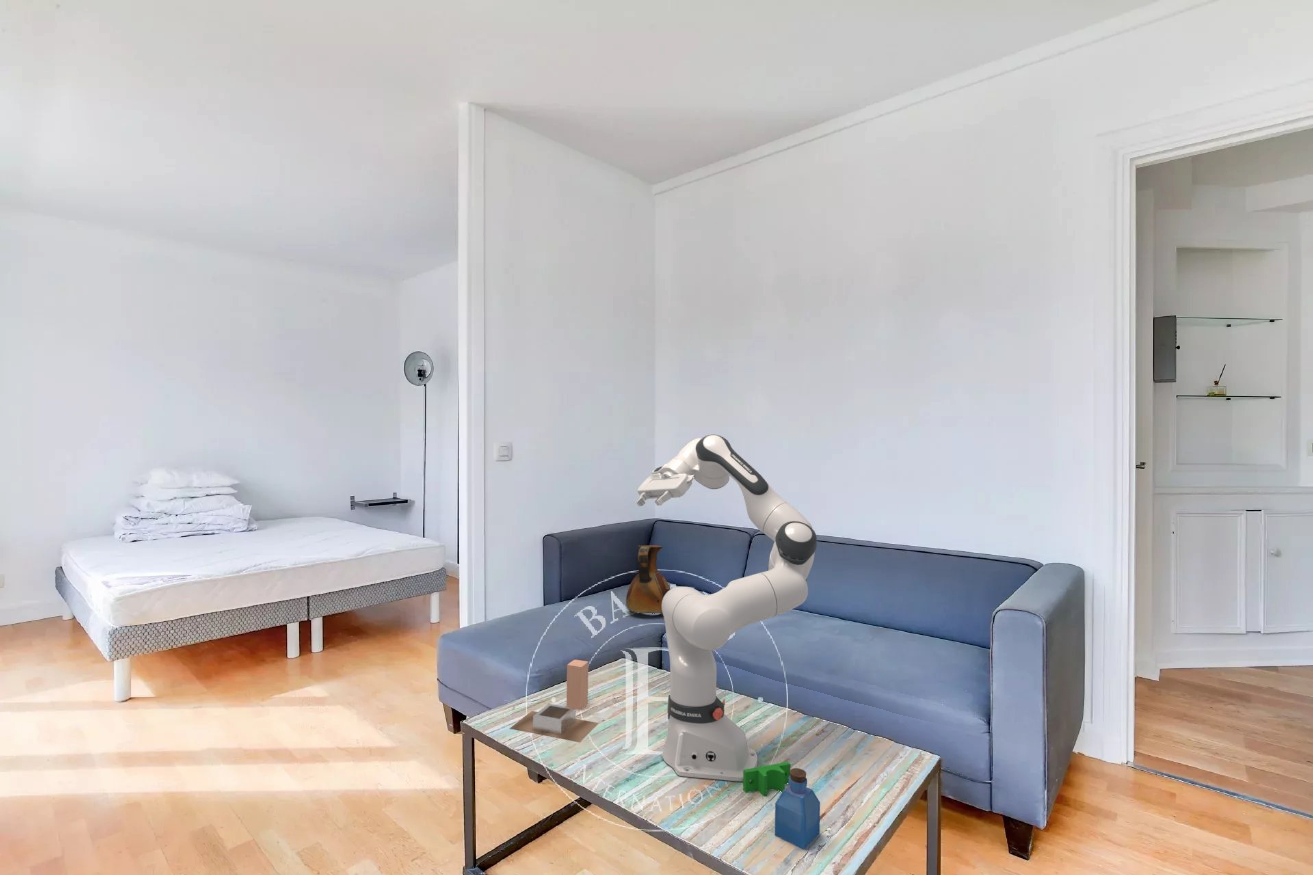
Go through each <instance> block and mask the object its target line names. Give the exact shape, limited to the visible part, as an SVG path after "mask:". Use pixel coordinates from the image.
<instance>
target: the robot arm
mask: <svg viewBox="0 0 1313 875" xmlns="http://www.w3.org/2000/svg"><path fill="white" fill-rule="evenodd" d="M730 478H732V479H733V481H735V482H736V484H737V485H738V486H739V489H740V490H741V493H742V496H743V500H744V504H745V507H746V512H747V515H748V518H749V519H750V521H751V523H752V524H753V525H754V526H755V527H756V528H757V529H758V530H759V531H761V532H762V533H763V534H764V535H766V537H768V538H770V539H771V540H772V541H773V542H774V543H773V545H772V548H771V551H770V554H769V559H768V560H769V561H768V567H767V570H765V571H762V572H761V571H760V572H758V573H755V574H750V575H748V576H744V577H740V578H737V579H734V580H731V581H729V582H728V583H727V585H726V586H725V587H723V588H722V589H719V590H718V591H717V592H714V593H711V594H704V593H702V592H700V591H699V590H697V589H695V588H694V587H690V586H675V587H673V588H670V590H669V591H668V592H667V593H666V594H665V596H664V598H663V600H662V612H663V613H662V615H663V620H664V626H665V633H666V635H665V636H666V641H667V649H668V655H669V666H670V668H669V669H670V670H669V671H670V672H669V673H670V674H669V676H670V677H669V678H670V680H669V685H670V686H669V695H668V698H667V706H666V707H667V719H668V725H667V726H668V727H667V732H666V737H665V738H666V739H665V742H664V743H665V744H664V746H663V750H662V753H661V756H662V759H663V761H664V762H665V763H666V764H668V765H669V767H671V768H672V769H673V770H674V772H675V774H677V775H678V777H679V776H680V777H689V778H697V779H698V778H699V779H708V780H709V779H710V780H719V781H720V780H721V781H731V782H732V781H733V782H743V770H746V769H751V768H756V767H758V755H757V753H756V751H755V750H754V749H753V748H750V747H749V745H748V739H747V736H746V732H745V731H744V729H742V727H740V726H738V724H736V723H735V722H734V721H733V720H732V719H731V718H729V717H728V716H727V715H726V714H725V705H726V700H725V698H724V699H723V700H722V701H721V699H719V697H718V696H717V667H718V666H717V662H716V659H715V656H714V653H713V651H717V650H718V649H720V648H722V647H723V646H724V645H725V644H727V642H728V640H730V639H729V638H730V636H732V635H733V634H735V633H736V632H737V631H739V630H741V629H743V628H745V627H748V626H749V625H752V624H755V623H758V622H762V621H765V620H768V619H771V618H775V617H777V616H780V615H782V614H785V613H788V612H790V611H792V610H793V609H795V608H797V607H799V606H800V605H802V604H803V603H805V601H806V600H807V598H808V596H809V587H808V583H807V580H808V579H807V578H808V576H809V574H810V571H811V569H812V567H813V563H814V560H815V555H816V554H815V553H816V551H817V548H818V538H817V534H816V532H815V530H814V529H813V526H812V524H811V522H809V520H808V519H807V518H806V517H805V516H804V515H803V514H802V513H801V512H800V511H799V510H798V509H796V508H795V507H794V506H793V505H791V504H790V503H789V502H787V501H786V500H785V499H784V498H782V497H781V496H780V495H779V493H777V492H776V490H774V489H773V488H772V486H771V485H769V483H768V482H767V481H766V480H765V478H764V477H763V476H762V475H761V474H760V473H759V472H758V471H757V470H756V469H755V468H754V467H753V466H752V465H750V464H749V463H748V462H747V461H746V460H745V458H743V457H742V456H740V454H738V453H737V452H736V451H735V450H734V449H733V447H732V445H731V444H730V442H729V440H728V439H726V438H725V437H723V436H721V435H718V434H708V435H705V436H703V437H697V438H695V439H693V440H690V441H689V442H688V443H687V444H686V445H684V447H682V449H680V450H679V451H678V453H677V455H675V457H673V458H671V459H670V460H669V461H668V462H666V463H665V464H663V465H662V466H659V467H657V468H654V469H653V470H652V471H651V475H649V476H647V477H646V479H645V480H644V481H643V482H642V483H641V484H640V485H639V487H638V488H637V493H638V495H639V498H638V499H637V501H636V505H637V506H638V507H643V506H644V505H645V504H646V501H647V500H650V499H653V500H654V499H655V501H654V503H655V505H656V506H662V505H663V504H664V503H666V502H667V501H669V500H670V499H672V498H674V499H675V498H681V497H683V496H684V495H685V494H686V493H687V491H689V489H690V487H691V486H692V484H693V482H692V481H694V480H695V481H696V482H697V483H699V484H700V485H702V486H703V487H705V488H707V489H710V490H718V489H721V488H723V487H725V486H726V485H727V484H728V483H729V481H730Z"/></svg>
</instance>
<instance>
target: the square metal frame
mask: <svg viewBox="0 0 1313 875" xmlns="http://www.w3.org/2000/svg"><path fill="white" fill-rule="evenodd" d="M576 711H577V709H576V708H571V707H566V706H564V705H560V704H559V705H558V704H552V703H548V704H546V705H545V706H544V707H543V708H541V709H540V710H538V711H537V712H538V713H536V714H535V715H534V716H533V730H536V731H542V732H547V733H552V734H557V735H562V734H563V733H564V732H565V731H566V730H567V729H568V728H569V727H570V726H571V725H572V724H574V723H575V721H576V719H577V718H576V717H577V716H576V713H577V712H576Z"/></svg>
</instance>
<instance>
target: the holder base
mask: <svg viewBox="0 0 1313 875" xmlns="http://www.w3.org/2000/svg"><path fill="white" fill-rule="evenodd" d="M538 712H539V711H534V710H531V711H529V712H528V713H527V714H526V715H525V716H523V717H522V718H521V719H519V720H518V721H517V722H515V724H513V725H512V726H511V727H509V729H510V730H513V731H521V732H524V733H531V734H534V735H540V736H546V737H551V738H556V739H561V740H565V741H572V742H577V743H581V742H582V741H583V740H584V739H585V738H586V737H587V736H588V735H589V734H590V733H591V732H592V731H593V730H594V729H595V728H596V727H597V726H598V725H599V722H595V721H591V720H584V719H578V718H576V721H575V723H574V724H572V725H571V726H570V727H569V728H568V729H567V730H566V731H565V732H564V733H563V734H562V735H557V734H552V733H547V732H542V731H536V730H533V716H534V715H535V714H536V713H538Z"/></svg>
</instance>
